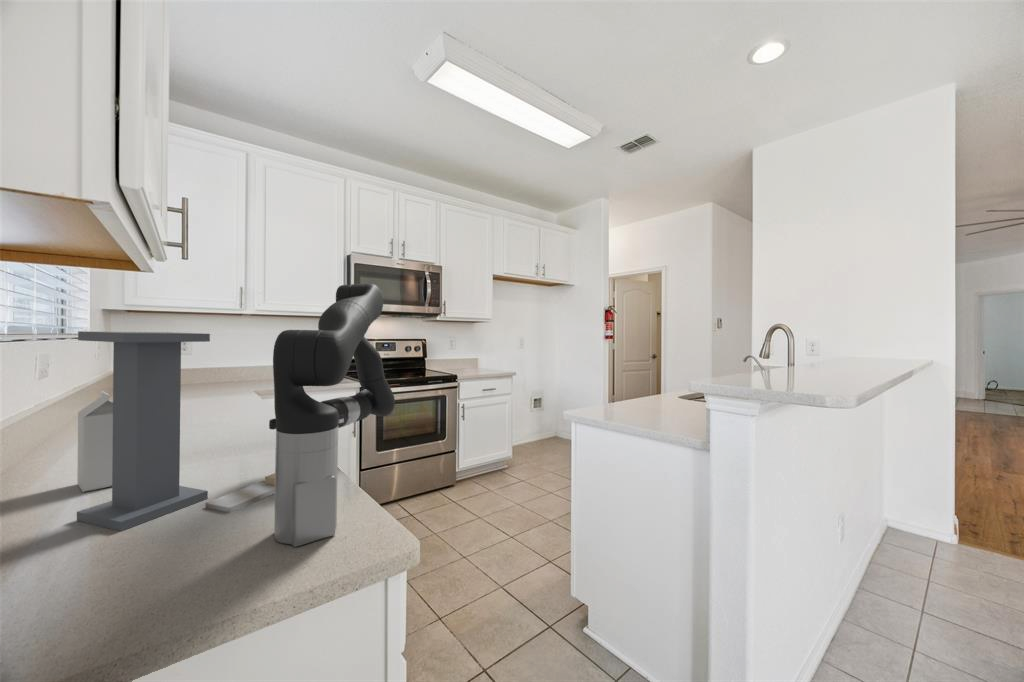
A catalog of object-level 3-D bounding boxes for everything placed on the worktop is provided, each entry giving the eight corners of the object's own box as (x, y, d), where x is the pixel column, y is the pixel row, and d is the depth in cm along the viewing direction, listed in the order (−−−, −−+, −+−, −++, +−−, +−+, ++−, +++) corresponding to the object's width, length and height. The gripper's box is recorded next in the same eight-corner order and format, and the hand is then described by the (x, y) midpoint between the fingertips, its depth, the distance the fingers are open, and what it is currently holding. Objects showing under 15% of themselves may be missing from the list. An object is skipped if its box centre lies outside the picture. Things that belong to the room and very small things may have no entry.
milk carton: (82, 493, 81) (83, 396, 80) (77, 484, 85) (77, 392, 85) (131, 483, 86) (132, 393, 86) (123, 475, 91) (124, 389, 90)
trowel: (296, 471, 96) (296, 461, 96) (317, 475, 94) (317, 464, 94) (205, 508, 76) (205, 495, 76) (229, 513, 74) (229, 500, 74)
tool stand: (167, 490, 83) (168, 332, 82) (207, 498, 80) (209, 333, 79) (76, 520, 69) (78, 331, 69) (121, 531, 66) (123, 333, 66)
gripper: (314, 396, 107) (260, 406, 91) (361, 400, 103) (313, 412, 87) (314, 425, 107) (260, 440, 91) (361, 430, 103) (312, 447, 87)
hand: (285, 426), depth 89 cm, fingers open, 8 cm apart
